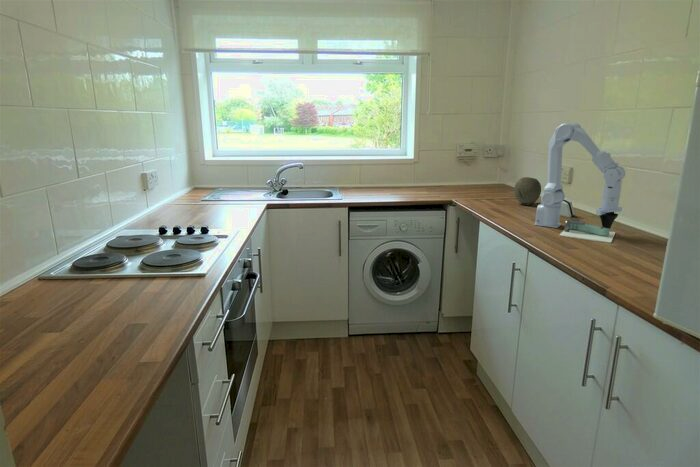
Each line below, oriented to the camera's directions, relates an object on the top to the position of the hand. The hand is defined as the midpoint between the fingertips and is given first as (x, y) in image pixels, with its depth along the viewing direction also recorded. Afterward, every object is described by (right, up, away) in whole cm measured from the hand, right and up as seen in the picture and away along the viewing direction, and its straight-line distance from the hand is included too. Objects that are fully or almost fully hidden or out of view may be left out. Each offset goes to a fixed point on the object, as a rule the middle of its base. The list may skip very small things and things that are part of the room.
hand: (605, 230), depth 171 cm
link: (-5, 0, +4) cm, 7 cm away
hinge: (-1, +8, +40) cm, 41 cm away
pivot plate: (-6, -2, +2) cm, 7 cm away
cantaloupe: (-6, +15, +64) cm, 66 cm away
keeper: (-11, -1, +4) cm, 11 cm away
